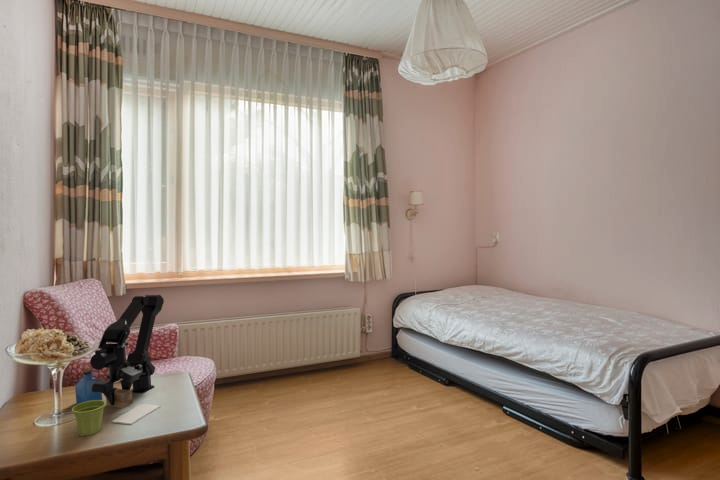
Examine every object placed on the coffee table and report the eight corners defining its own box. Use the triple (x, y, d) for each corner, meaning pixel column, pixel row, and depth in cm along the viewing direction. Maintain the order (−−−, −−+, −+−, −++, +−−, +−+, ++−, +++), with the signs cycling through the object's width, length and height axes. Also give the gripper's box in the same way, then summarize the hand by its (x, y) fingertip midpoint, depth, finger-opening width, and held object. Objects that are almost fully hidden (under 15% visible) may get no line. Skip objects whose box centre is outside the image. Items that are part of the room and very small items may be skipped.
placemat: (141, 405, 163) (141, 404, 162) (160, 406, 161) (160, 405, 160) (111, 422, 149) (111, 421, 149) (131, 424, 147) (131, 423, 147)
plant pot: (98, 422, 149) (97, 397, 149) (112, 429, 144) (110, 403, 143) (68, 433, 142) (66, 407, 141) (81, 441, 136) (79, 414, 136)
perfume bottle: (76, 403, 166) (74, 372, 165) (92, 396, 172) (90, 366, 171) (85, 405, 163) (84, 374, 163) (102, 399, 169) (100, 369, 168)
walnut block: (117, 400, 167) (116, 388, 167) (132, 403, 164) (132, 390, 164) (106, 405, 163) (105, 392, 163) (122, 408, 160) (121, 395, 160)
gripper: (115, 370, 152) (117, 414, 153) (153, 354, 170) (155, 393, 171) (89, 368, 155) (91, 411, 156) (129, 352, 173) (131, 391, 174)
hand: (119, 401), depth 164 cm, fingers open, 6 cm apart
